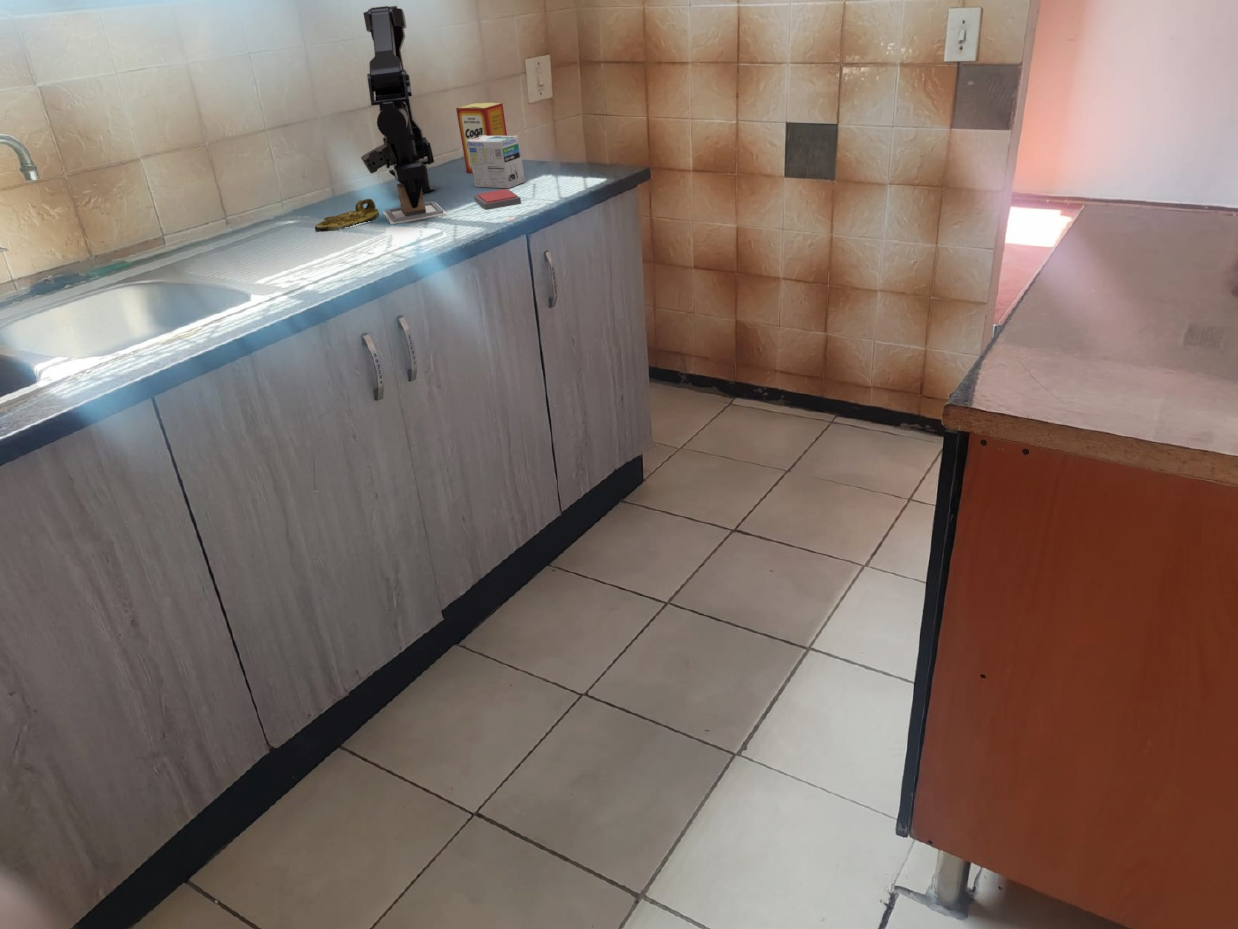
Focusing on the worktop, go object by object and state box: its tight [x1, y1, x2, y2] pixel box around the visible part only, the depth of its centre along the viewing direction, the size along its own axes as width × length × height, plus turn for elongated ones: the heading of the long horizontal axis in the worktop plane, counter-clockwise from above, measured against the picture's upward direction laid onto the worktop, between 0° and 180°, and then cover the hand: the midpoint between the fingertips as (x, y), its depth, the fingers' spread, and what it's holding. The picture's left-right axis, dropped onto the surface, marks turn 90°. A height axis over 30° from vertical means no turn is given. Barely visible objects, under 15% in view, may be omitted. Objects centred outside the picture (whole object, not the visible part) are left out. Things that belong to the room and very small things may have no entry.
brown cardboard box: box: [396, 183, 426, 216], centre depth 200 cm, size 4×4×6 cm
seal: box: [314, 198, 380, 232], centre depth 199 cm, size 9×5×15 cm
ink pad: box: [473, 188, 522, 210], centre depth 204 cm, size 10×8×2 cm
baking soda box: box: [455, 102, 508, 174], centre depth 231 cm, size 10×6×16 cm
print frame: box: [382, 200, 448, 225], centre depth 202 cm, size 12×12×1 cm
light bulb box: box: [467, 135, 526, 189], centre depth 217 cm, size 11×7×11 cm, turn 58°
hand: (412, 205), depth 201 cm, fingers closed on brown cardboard box, 4 cm apart
